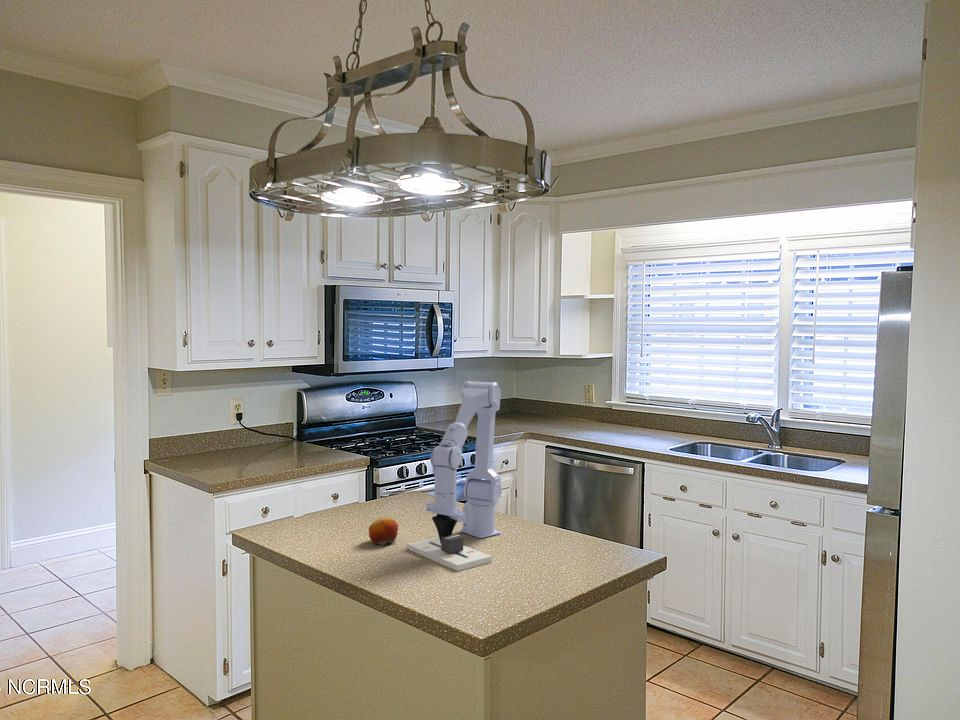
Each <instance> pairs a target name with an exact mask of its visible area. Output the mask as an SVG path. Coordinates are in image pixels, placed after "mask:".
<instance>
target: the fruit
mask: <svg viewBox="0 0 960 720" xmlns="http://www.w3.org/2000/svg"><path fill="white" fill-rule="evenodd" d="M398 531H399V524H398V522H397V520H395V519H394V518H391V517H380V518H378V519H376V520H374V521H372V523H371V524H370V525H369V527H368V537H369V538H370V541H371V542H372V543H374V544H376V545H381V546H383V545H385V544H389V543H394V544H396V541H395V540H396V539H397V536H398Z"/></svg>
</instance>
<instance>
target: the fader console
mask: <svg viewBox="0 0 960 720" xmlns="http://www.w3.org/2000/svg"><path fill="white" fill-rule="evenodd" d="M407 549H409V550H408V551H410V550H411V551H410V552H412V551H413V552H412V553H414V552H415V553H414V554H416V553H418V554H417V555H419V554H420V555H419V556H421V555H422V557H423V556H424V558H426V557H427V558H426V559H428V558H429V559H428V560H430V559H431V561H433V562H435V563H437V562H438V563H437V564H440V565H442V566H445V567H446V568H450V569H452V570H454V571H456V572H460V571H464V570H467V569H471V568H474V567H478V566H482V565H486V564H491V563H492V561H493V560H492V559H493V557H492V555H489V554H486V553H484V552H482V551H479V550H477V549H473V548H471V547H468V546H466V545H463V551H459V552H455V553H451V554H449V553H446V552H444V551H441V543H440V539H439V536H436V537H431V538H426V539H422V540H418V541H414V542H413V541H412V542H409V543H406V550H407Z"/></svg>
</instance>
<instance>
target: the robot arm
mask: <svg viewBox="0 0 960 720" xmlns="http://www.w3.org/2000/svg"><path fill="white" fill-rule="evenodd" d="M460 390H461V391H460V396H461V403H460V404H461V405H460V406H459V409H458V412H457V415H456V417H455V421H454V422H451V423H450V424H449V425H448V426H447V429H446V430H445V433H444V435H443V437H442V439H441V441H440V443H439V444H438V445H436V447H434V448H433V449H432V450H431V454H430V459H429V460H430V461H429V462H430V465H431V467H432V473H433V475H434V502H429V503H426V504H425V505H426V506H425V509H426V510H425V511H427V512H431V514H433V515H435V516H432V517H431V518H432V519H431V520H432V522H433V523H434V526H435V528H436V531H437V534H438V537H439V539H440V543H441V537H444V536H448V535H453V532H454V529H455V527H456V525H457V523H462V528H460V529H459V531H460V532H461V533H465V534H467V535H469V536H473V537H475V538H479V539H483V538H488V537H492V536H497V535H500V534H501V533H502V531H500V530H496V529H495V527H496V525H495V523H496V522H495V521H496V504H497V503H498V502H499V501H500V500H501V497H502V492H503V491H502V489H503V488H502V483H501V476H500V475H499V474H498V473H497V472H496V471H495V470H494V469H493V456H494V441H495V440H494V439H495V425H496V424H495V423H496V412H498V411H500V406H501V395H502V391H501V388H500V386H499V384H498V382H496V381H493V382H488V381H487V382H486V381H471V380H466V381H465V382H464V383H463V384H462V387H461V389H460ZM475 414H477V422H476V423H477V424H476V425H477V426H476V440H475V456H474V468H473V469H472V470H471V471H469V472H468V473H467V474H466V476H465V477H466V478H465V483H464V485H463V495H464V498H465V499H466V500H467V501H466V502H465V503H464V504H463V507H462V511H461V510H460V509H459V508H458V507H457V482H458V481H457V472H458V471H457V470H458V468H459V466H460V464H461V461H462V454H463V448H464V444H465V442H466V440H467V438H468V436H469V430H468V429H467V428H468V426H469V424H470V423H471V421H472V420H473V418H474V416H475Z"/></svg>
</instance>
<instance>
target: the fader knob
mask: <svg viewBox="0 0 960 720" xmlns="http://www.w3.org/2000/svg"><path fill="white" fill-rule="evenodd" d="M463 546H464V536H462V535H460V534H457V533H452V535H448V536H444V537H441V551H444V552H446V553H449V554H451V553H455V552H459V551H463Z"/></svg>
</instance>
